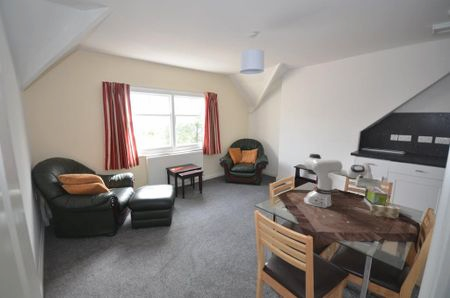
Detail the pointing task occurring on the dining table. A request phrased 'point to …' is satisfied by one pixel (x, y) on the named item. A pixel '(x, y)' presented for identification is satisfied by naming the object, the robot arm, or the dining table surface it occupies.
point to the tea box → (375, 196)
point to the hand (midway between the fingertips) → (369, 192)
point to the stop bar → (384, 211)
